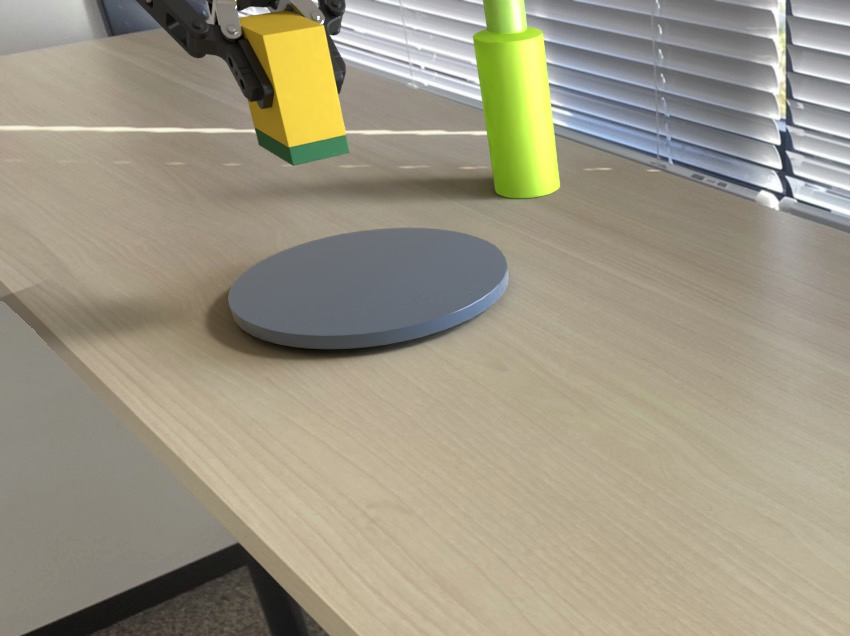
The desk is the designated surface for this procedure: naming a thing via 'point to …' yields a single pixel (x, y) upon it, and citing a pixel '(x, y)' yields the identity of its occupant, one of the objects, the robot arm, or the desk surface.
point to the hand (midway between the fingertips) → (303, 93)
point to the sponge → (296, 88)
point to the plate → (369, 288)
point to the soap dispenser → (516, 102)
